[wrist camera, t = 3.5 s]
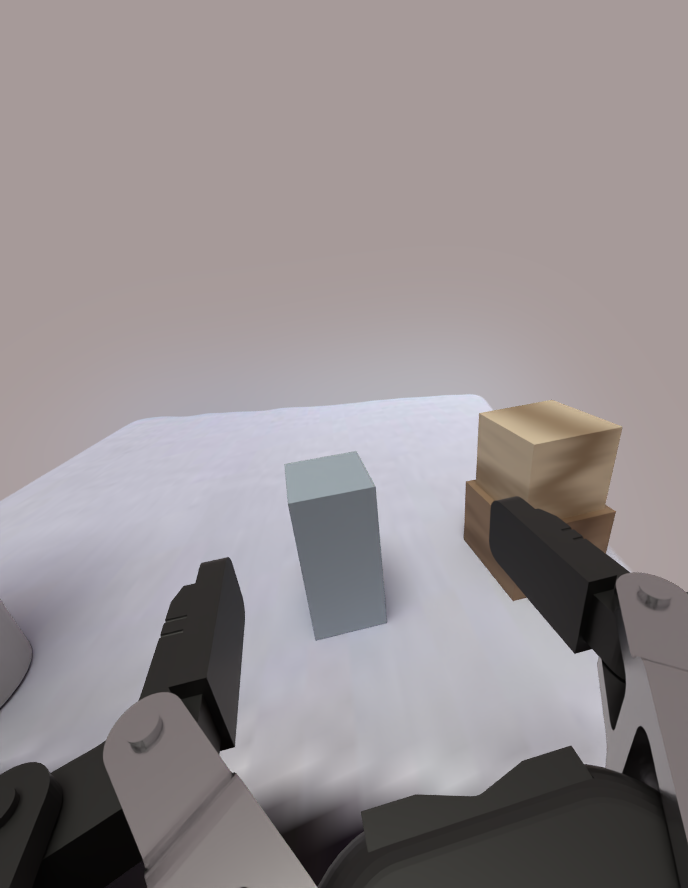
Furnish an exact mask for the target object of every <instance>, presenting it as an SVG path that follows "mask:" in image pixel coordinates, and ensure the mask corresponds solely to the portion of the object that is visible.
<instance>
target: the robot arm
mask: <svg viewBox="0 0 688 888" xmlns="http://www.w3.org/2000/svg"><path fill="white" fill-rule="evenodd" d="M489 546H490V550H491V553H492V555H493V557H494V559H495V560H496V562H497V563H498V564H499V565H500V566H501V568H502V569H503V570H504V571H505V572H506V573H507V575H508V576H509V577H510V578H511V579H512V581H513V582H514V583H515V584H516V585H517V586H518V588H519V589H520V590H521V591H522V592H523V594H524V595H525V596H526V597H527V598H528V599H529V601H530V602H531V603H532V604H533V605H534V606H535V608H536V609H537V610H538V611H539V612H540V614H541V615H542V616H543V617H544V618H545V619H546V621H547V622H548V623H549V624H550V625H551V626H552V628H553V629H554V630H555V631H556V632H557V634H558V635H559V636H560V637H561V638H562V639H563V641H564V642H565V643H566V644H567V645H568V646H569V648H570V649H571V650H572V651H573V652H574V654H576V653H579V652H583V651H586V650H590V649H593V650H594V651H595V652H596V654H597V655H598V656H599V658H598V662H597V668H598V676H599V684H600V692H601V700H602V708H603V715H604V723H605V731H606V741H607V754H606V768H603V767H599V766H593V765H587V764H583V762H582V761H581V759H580V758H579V756H578V755H577V753H576V752H575V750H574V749H573V747H572V746H568V747H565V748H562V749H559V750H556V751H553V752H549V753H546V754H543V755H540V756H537V757H533V758H530V759H527V760H524V761H522V762H521V763H519V764H518V765H517V766H516V767H514V768H513V769H512V770H511V771H509V772H508V773H507V774H506V775H504V776H503V777H502V778H501V779H499V780H498V781H497V782H496V783H494V784H493V785H492V786H491V787H489V788H488V789H487V790H486V791H485V792H483V793H482V794H480V795H478V796H443V795H413V796H409V797H406V798H403V799H400V800H397V801H394V802H390V803H387V804H384V805H381V806H378V807H374V808H371V809H368V810H365V811H362V812H361V816H362V821H363V827H364V832H362V833H361V834H360V835H359V836H357V837H356V838H355V839H354V840H352V841H351V842H350V843H349V844H348V845H347V846H346V847H345V848H344V849H343V851H342V852H341V853H340V854H339V855H338V856H337V858H336V859H335V860H334V862H333V863H332V864H331V866H330V867H329V868H328V870H327V872H326V874H325V875H324V877H323V879H322V880H321V882H320V884H319V885H318V887H317V886H316V885H315V883H314V882H313V880H312V879H311V877H310V876H309V875H308V873H307V872H306V870H305V869H304V868H303V866H302V865H301V863H300V862H299V860H298V859H297V858H296V856H295V855H294V853H293V852H292V850H291V849H290V848H289V846H288V845H287V843H286V842H285V841H284V839H283V838H282V836H281V835H280V833H279V832H278V831H277V829H276V828H275V826H274V825H273V824H272V822H271V821H270V819H269V818H268V816H267V815H266V814H265V812H264V811H263V809H262V808H261V806H260V805H259V804H258V802H257V801H256V799H255V798H254V797H253V795H252V794H251V792H250V791H249V789H248V788H247V787H246V785H245V784H244V782H243V781H242V780H241V779H240V777H239V776H238V775H237V774H236V773H235V772H234V773H232V772H231V771H230V770H229V769H228V767H227V766H226V764H225V763H224V761H223V760H222V759H221V757H220V756H219V753H220V751H222V750H226V749H229V748H233V747H235V738H236V725H237V713H238V700H239V687H240V675H241V662H242V650H243V637H244V624H245V609H244V602H243V597H242V594H241V591H240V587H239V584H238V581H237V577H236V574H235V571H234V568H233V564H232V561H231V559H230V558H229V557H227V558H222V559H218V560H213V561H208V562H204V563H201V565H200V568H199V572H198V575H197V579H196V583H195V584H191V585H186V586H183V587H182V589H181V590H180V591H179V593H178V594H177V595H176V596H175V598H174V599H173V600H172V602H171V604H170V607H169V610H168V613H167V616H166V619H165V621H166V622H165V623H164V625H163V628H162V631H161V634H160V635H161V638H159V641H158V644H157V647H156V650H155V653H154V656H153V659H152V662H151V665H150V668H149V671H148V674H147V677H146V681H145V684H144V687H143V690H142V693H141V696H140V698H139V701H138V702H137V703H135V704H134V705H132V706H131V707H130V708H129V709H128V710H127V711H126V712H125V713H124V714H123V715H122V716H121V717H120V718H119V719H118V721H117V722H116V723H115V725H114V726H113V728H112V729H111V731H110V733H109V735H108V737H107V739H106V741H104V742H103V743H102V744H100V745H98V746H97V747H95V748H94V749H92V750H90V751H88V752H87V753H85V754H83V755H81V756H80V757H78V758H76V759H74V760H73V761H71V762H69V763H67V764H66V765H64V766H62V767H60V768H59V769H57V770H55V771H53V772H52V773H50V772H49V771H48V769H47V768H46V767H45V766H44V765H43V764H41V763H37V762H29V763H25V764H21V765H19V766H16V767H14V768H12V769H10V770H8V771H6V772H4V773H3V774H1V775H0V888H104V887H105V886H107V885H108V884H110V883H111V882H112V881H114V880H115V879H117V878H118V877H119V876H121V875H122V874H124V873H125V872H126V871H128V870H129V869H130V868H132V867H133V866H135V865H136V864H137V863H139V862H140V861H142V860H143V861H144V864H145V868H146V870H145V871H144V876H145V880H146V884H147V887H148V888H688V592H685V591H684V590H683V589H681V588H680V587H679V586H677V585H675V584H674V583H672V582H670V581H668V580H665V579H663V578H660V577H658V576H655V575H650V574H645V573H630V572H629V571H628V570H626V569H625V568H624V567H622V566H621V565H620V564H618V563H617V562H616V561H615V560H613V559H612V558H611V557H609V556H608V555H607V554H605V553H604V552H603V551H602V550H600V549H599V548H598V547H596V546H595V545H594V544H592V543H591V542H590V541H589V540H587V539H584V538H583V536H582V535H581V534H579V533H578V532H577V531H576V530H574V529H573V530H572V529H571V527H570V526H569V525H568V524H566V523H565V522H564V521H563V520H561V519H560V518H559V517H557V516H555V515H553V514H551V513H548V512H546V511H544V510H542V509H539V508H538V509H535V508H534V507H532V506H531V505H530V504H529V503H527V502H526V501H525V500H524V499H522V498H521V497H519V496H514V497H510V498H505V499H500V500H496V501H493V502H492V504H491V510H490V530H489ZM31 659H32V648H31V645H30V643H29V641H28V640H27V638H26V637H25V635H24V634H23V632H22V631H21V629H20V628H19V626H18V625H17V623H16V622H15V620H14V619H13V617H12V616H11V614H10V613H9V611H8V610H7V608H6V607H5V605H4V603H3V602H2V601H1V599H0V707H1V706H2V705H3V704H4V703H5V702H6V701H7V700H8V698H9V697H10V696H11V695H12V693H13V692H14V691H15V689H16V688H17V687H18V686H19V684H20V682H21V681H22V679H23V677H24V676H25V674H26V672H27V670H28V668H29V665H30V662H31Z"/></svg>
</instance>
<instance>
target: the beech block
mask: <svg viewBox="0 0 688 888" xmlns="http://www.w3.org/2000/svg"><path fill="white" fill-rule="evenodd" d="M621 431H622V427H621V426H619V425H616V424H614V423H611V422H608V421H606V420H603V419H600V418H598V417H595V416H593V415H590V414H587V413H585V412H582V411H579V410H577V409H574V408H572V407H569V406H566V405H564V404H561V403H558V402H556V401H553V400H550V401H544V402H538V403H533V404H527V405H522V406H516V407H511V408H505V409H500V410H494V411H489V412H484V413H479V427H478V449H477V470H476V484H477V485H478V486H479V487H480V488H481V489H482V490H484V491H485V492H486V493H487V494H488V495H489V496H490V497H491V498H492V499H493V500H495V501H496V500H500V499H505V498H510V497H514V496H519V497H521V498H522V499H524V500H525V501H526V502H527V503H529V504H530V505H531V506H532V507H534V508H535V509H538V508H539V509H542V510H544V511H546V512H548V513H551V514H553V515H555V516H557V517H559V518H560V519H563V518H567V517H572V516H576V515H580V514H584V513H588V512H593V511H597V510H601V509H604V508H605V503H606V499H607V494H608V490H609V485H610V480H611V476H612V472H613V467H614V463H615V458H616V454H617V449H618V445H619V440H620V436H621Z"/></svg>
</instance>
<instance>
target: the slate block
mask: <svg viewBox="0 0 688 888" xmlns="http://www.w3.org/2000/svg"><path fill="white" fill-rule="evenodd" d="M284 466H285V477H286V488H287V499H288V506H289V511H290V516H291V521H292V526H293V531H294V536H295V541H296V546H297V551H298V556H299V561H300V566H301V571H302V575H303V580H304V585H305V590H306V595H307V600H308V605H309V610H310V615H311V620H312V625H313V630H314V635H315V640H320V639H324V638H328V637H332V636H336V635H340V634H344V633H348V632H352V631H356V630H360V629H364V628H368V627H372V626H376V625H380V624H385V623H387V618H386V606H385V594H384V582H383V570H382V558H381V546H380V534H379V522H378V511H377V499H376V487H375V485H374V483H373V481H372V479H371V477H370V476H369V474H368V472H367V470H366V468H365V466H364V464H363V463H362V461H361V459H360V457H359V455H358V453H357V452H356V451H355V452H349V453H344V454H338V455H333V456H327V457H321V458H316V459H310V460H305V461H299V462H294V463H288V464H284Z"/></svg>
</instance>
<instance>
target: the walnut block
mask: <svg viewBox="0 0 688 888" xmlns="http://www.w3.org/2000/svg"><path fill="white" fill-rule="evenodd" d="M493 501H495V500H493V499H492V498H491V497H490V496H489V495H488V494H487V493H486V492H485V491H484V490H482V489H481V488H480V487H479V486H478V485H477V484H476V480H471V481H467V482H466V495H465V524H464V540H465V541H466V543H467V544H468V545H469V546H470V548H471V549H472V550H473V551H474V553H475V554H476V555H477V556H478V558H479V559H480V560H481V561H482V563H483V564H484V565H485V566H486V568H487V569H488V570H489V571H490V573H491V574H492V575H493V576H494V578H495V579H496V580H497V581H498V583H499V584H500V585H501V586H502V588H503V589H504V590H505V592H506V593H507V594H508V595H509V597H510V598H511V599H512V600H513V601H515V600H519V599H523V598H526V596H525V595H524V594H523V592H522V591H521V590H520V589H519V588H518V586H517V585H516V584H515V583H514V582H513V581H512V579H511V578H510V577H509V576H508V575H507V573H506V572H505V571H504V570H503V569H502V568H501V566H500V565H499V564H498V563H497V562H496V560H495V559H494V557H493V555H492V553H491V550H490V546H489V530H490V510H491V504H492V502H493ZM615 513H616V511H614V510H612V509H611V508H609V507H608V506H606V505H605V508H604V509H601V510H597V511H593V512H588V513H584V514H580V515H576V516H572V517H567V518H563V519H561V520H563V521H564V522H565V523H566V524H568V525H569V526H570V527H571V529H572V530H573V529H574V530H576V531H577V532H578V533H579V534H581V535H582V536H583V538H584V539H587V540H589V541H590V542H591V543H592V544H594V545H595V546H596V547H598V548H599V549H600V550H602V551H603V552H604V553H605V554H606V550H607V546H608V542H609V538H610V533H611V529H612V525H613V521H614V517H615Z"/></svg>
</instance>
